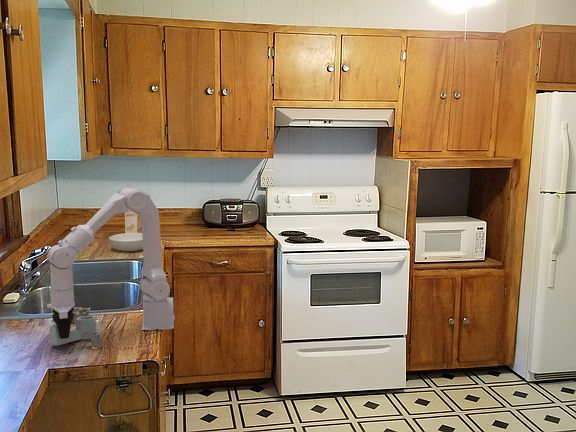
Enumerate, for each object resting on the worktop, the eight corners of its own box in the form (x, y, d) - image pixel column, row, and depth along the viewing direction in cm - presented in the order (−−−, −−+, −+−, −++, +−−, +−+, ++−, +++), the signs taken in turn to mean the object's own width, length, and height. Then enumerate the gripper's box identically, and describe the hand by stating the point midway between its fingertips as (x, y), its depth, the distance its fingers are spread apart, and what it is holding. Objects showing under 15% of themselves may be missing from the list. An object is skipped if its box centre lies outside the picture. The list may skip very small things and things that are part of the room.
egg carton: (49, 322, 170) (48, 310, 169) (64, 315, 177) (63, 303, 177) (79, 325, 168) (79, 313, 167) (93, 317, 175) (92, 305, 175)
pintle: (101, 339, 157) (100, 318, 156) (101, 341, 155) (100, 321, 154) (95, 339, 156) (94, 319, 155) (94, 342, 155) (93, 321, 154)
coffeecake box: (138, 242, 291) (137, 206, 288) (124, 241, 292) (123, 205, 288) (145, 236, 306) (145, 202, 303) (133, 236, 306) (132, 202, 303)
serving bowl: (109, 246, 279) (108, 233, 278) (151, 244, 286) (150, 231, 285) (109, 255, 260) (108, 241, 259) (154, 253, 266) (153, 239, 265)
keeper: (84, 345, 152) (83, 332, 151) (100, 347, 151) (99, 333, 150) (81, 347, 150) (80, 334, 150) (97, 349, 150) (96, 335, 149)
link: (90, 333, 162) (89, 315, 161) (101, 335, 158) (100, 316, 158) (48, 343, 151) (47, 324, 151) (59, 346, 148) (58, 326, 148)
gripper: (46, 282, 155) (49, 328, 157) (46, 297, 141) (48, 346, 144) (73, 280, 157) (75, 325, 159) (75, 294, 144) (77, 342, 146)
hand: (64, 335), depth 152 cm, fingers closed on link, 4 cm apart
